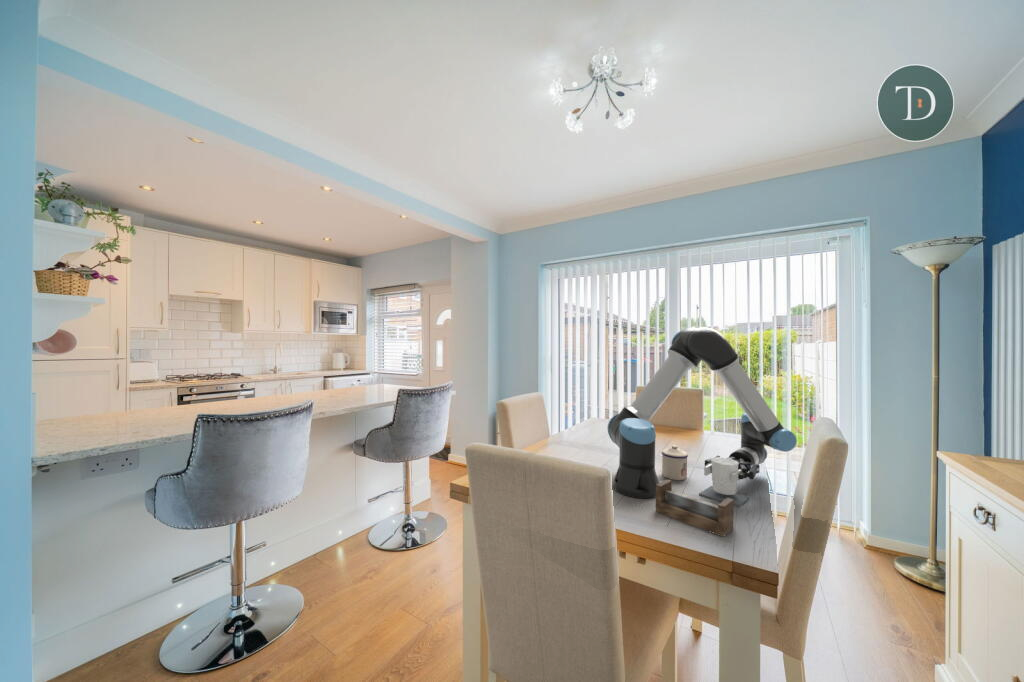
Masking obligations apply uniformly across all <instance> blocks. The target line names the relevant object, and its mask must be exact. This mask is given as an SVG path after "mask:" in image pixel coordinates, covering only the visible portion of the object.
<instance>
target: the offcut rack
mask: <svg viewBox="0 0 1024 682" xmlns="http://www.w3.org/2000/svg"><path fill="white" fill-rule="evenodd" d="M672 482H673V480H672V479H669V478H667V479H665V480H663V481H661V482H659V484H657V485H656V497H655V512H656V513H658V514H661V515H665V516H667V517H670V518H672V519H675V520H678V521H680V522H683V523H686V524H688V525H690V526H694V527H697V528H699V529H701V528H702V530H704V529H705V531H707V530H708V531H707V532H709V531H711V532H710V533H712V532H714V533H713V534H715V533H716V534H715V535H717V534H719V535H718V536H720V535H722V536H721V537H723V536H724V535H725V536H727V533H728V532H729V531H730V532H731V531H732V530H733V529H734V518H735V517H734V515H735V513H734V509H735V508H734V507H735V506H734V499H731V498H727V499H725V500H724V501H723V502H720V503H718V504H714V503H711V502H709V501H704V500H702V499H698V498H695V497H693V496H689V495H686V494H683V493H681V492H676V491H674V490H673V489H672V487H673V486H672V484H673V483H672ZM731 529H732V530H731ZM730 532H729V533H730ZM729 533H728V534H729ZM725 536H724V537H725Z"/></svg>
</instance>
